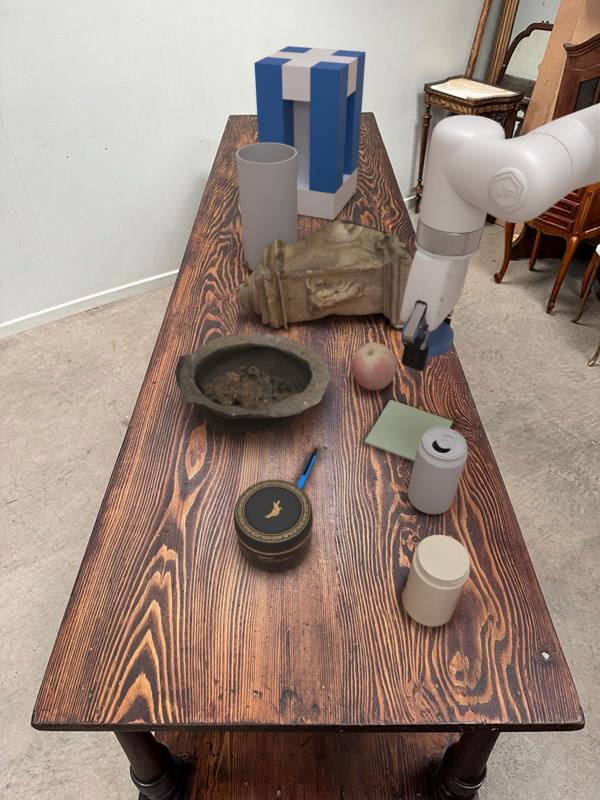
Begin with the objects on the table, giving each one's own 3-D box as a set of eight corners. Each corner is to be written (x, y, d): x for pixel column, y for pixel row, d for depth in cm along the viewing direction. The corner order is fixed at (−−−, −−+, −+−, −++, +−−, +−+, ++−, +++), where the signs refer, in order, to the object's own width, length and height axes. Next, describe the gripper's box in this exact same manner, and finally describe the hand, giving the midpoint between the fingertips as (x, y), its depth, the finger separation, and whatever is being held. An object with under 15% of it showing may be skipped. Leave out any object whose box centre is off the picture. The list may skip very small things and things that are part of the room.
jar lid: (391, 344, 74) (392, 334, 73) (416, 321, 78) (418, 311, 77) (437, 364, 71) (439, 354, 70) (461, 338, 75) (463, 328, 74)
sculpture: (424, 238, 93) (223, 256, 94) (418, 334, 106) (242, 348, 108) (407, 198, 106) (232, 214, 108) (404, 287, 119) (248, 300, 121)
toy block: (356, 190, 159) (365, 51, 135) (333, 219, 144) (339, 70, 121) (290, 181, 164) (288, 46, 140) (262, 208, 150) (254, 62, 126)
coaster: (452, 422, 88) (453, 421, 88) (431, 468, 81) (431, 466, 81) (389, 401, 92) (390, 399, 92) (364, 442, 85) (364, 440, 85)
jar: (313, 513, 75) (314, 479, 70) (310, 579, 68) (311, 546, 63) (243, 510, 76) (238, 475, 71) (232, 575, 69) (226, 542, 63)
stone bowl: (177, 463, 82) (166, 416, 76) (190, 368, 101) (182, 326, 95) (338, 451, 83) (340, 404, 77) (320, 360, 102) (321, 317, 97)
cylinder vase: (255, 247, 133) (248, 140, 116) (303, 253, 131) (304, 145, 114) (237, 272, 124) (227, 160, 107) (289, 279, 122) (287, 166, 105)
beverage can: (398, 500, 77) (409, 444, 69) (421, 474, 81) (435, 417, 72) (437, 525, 74) (454, 469, 66) (460, 496, 77) (479, 440, 69)
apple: (358, 365, 99) (361, 330, 94) (398, 376, 97) (404, 340, 92) (343, 392, 94) (346, 356, 88) (385, 404, 92) (391, 368, 86)
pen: (319, 451, 84) (319, 446, 83) (274, 554, 71) (273, 549, 70) (313, 450, 84) (313, 445, 84) (267, 552, 71) (267, 547, 70)
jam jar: (460, 592, 67) (479, 546, 60) (445, 636, 63) (463, 592, 56) (413, 570, 69) (425, 523, 62) (395, 611, 65) (406, 566, 58)
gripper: (446, 201, 70) (424, 315, 83) (386, 255, 60) (371, 376, 72) (503, 215, 67) (471, 331, 80) (450, 274, 57) (423, 397, 69)
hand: (424, 351), depth 76 cm, fingers closed on jar lid, 6 cm apart
